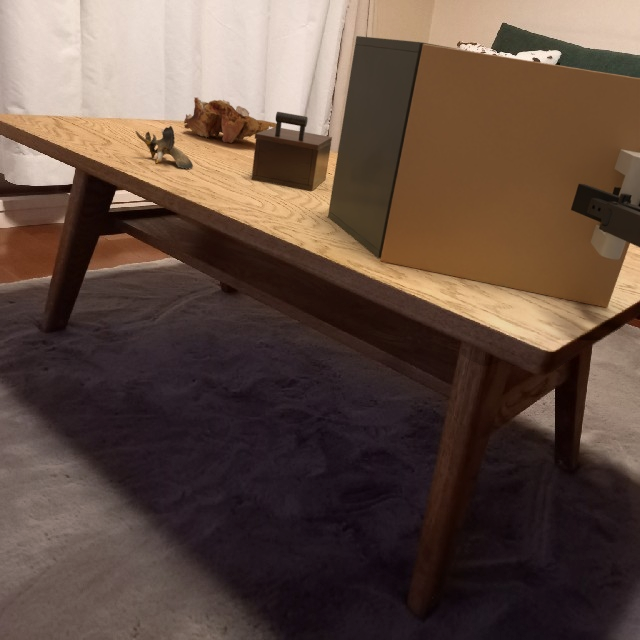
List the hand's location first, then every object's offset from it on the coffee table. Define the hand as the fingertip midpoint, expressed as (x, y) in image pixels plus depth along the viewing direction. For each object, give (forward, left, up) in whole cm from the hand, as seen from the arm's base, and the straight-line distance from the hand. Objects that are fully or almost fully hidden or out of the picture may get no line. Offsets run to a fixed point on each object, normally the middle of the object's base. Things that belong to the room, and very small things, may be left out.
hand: (595, 198), depth 65 cm
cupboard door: (+7, +2, -12) cm, 14 cm away
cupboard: (+20, -12, -12) cm, 26 cm away
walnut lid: (+52, -25, -5) cm, 58 cm away
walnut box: (+53, -25, -12) cm, 60 cm away
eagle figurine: (+70, -12, -12) cm, 72 cm away
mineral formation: (+83, -45, -12) cm, 95 cm away
